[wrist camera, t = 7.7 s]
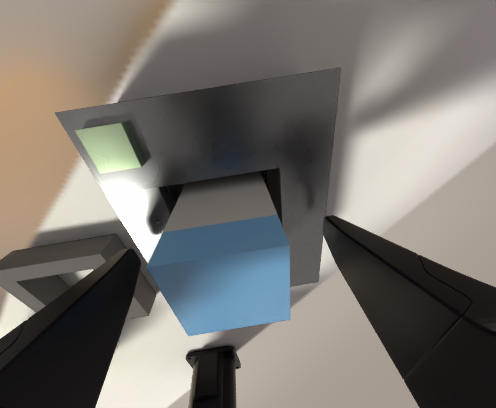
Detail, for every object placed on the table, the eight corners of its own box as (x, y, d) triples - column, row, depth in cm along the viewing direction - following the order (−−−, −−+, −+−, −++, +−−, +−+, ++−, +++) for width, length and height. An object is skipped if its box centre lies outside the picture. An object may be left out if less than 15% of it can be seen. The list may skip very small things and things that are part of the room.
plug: (260, 209, 14) (290, 319, 7) (208, 217, 14) (188, 336, 7) (254, 157, 12) (289, 245, 5) (193, 166, 12) (146, 267, 5)
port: (299, 241, 16) (320, 287, 12) (185, 260, 16) (172, 311, 12) (301, 75, 10) (347, 65, 6) (115, 105, 10) (44, 113, 6)
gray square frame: (156, 294, 18) (148, 315, 16) (76, 307, 18) (60, 330, 16) (115, 234, 14) (100, 253, 12) (12, 251, 14) (-18, 273, 12)
